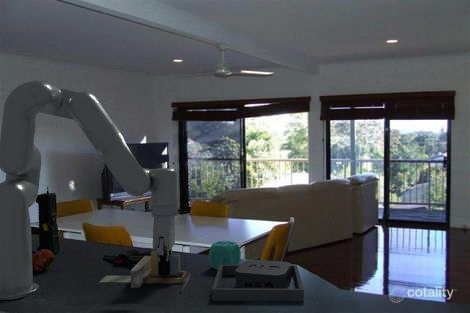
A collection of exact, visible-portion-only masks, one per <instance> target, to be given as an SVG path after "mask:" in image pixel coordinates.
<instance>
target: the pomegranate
mask: <svg viewBox="0 0 470 313" xmlns="http://www.w3.org/2000/svg"><path fill="white" fill-rule="evenodd" d="M55 255H56V254H55ZM55 255H54V254H53V253H52V252H51V251H50V250H47V249H41V250H39V251H38V252H37V251H34V250H32V271H35V272H37V273H41V272H42V271H44V270H46V269H49V270H51V271H52V272H53V271H54V270H53V269H52V267H50V266H51V264H52V263H53V262H54V261H55V257H56V256H55Z"/></svg>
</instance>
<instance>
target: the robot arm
mask: <svg viewBox="0 0 470 313" xmlns="http://www.w3.org/2000/svg"><path fill="white" fill-rule="evenodd" d="M39 113H40V114H46V115H50V116H54V117H55V116H56V117H60V118H64V119H68V120H73V121H74V122H75V123H76V125H77V126H78V128H80V130H81V131H82V132H83V134H84V135H85V136H86V138H87V139H88V140H89V142H90V144H91V145H92V147H93V148H94V149H95V150H96V152H97V154H98V156H99V157H100V159H102V161H103V162H104V164H105V165H106V167H107V168H108V170H109V171H110V173H111V174H112V176H113V177H114V178H115V180H116V181H117V182H118V184H119V185H120V186H121V188H122V189H123V190H124V192H125V193H126V194H127V195H130V196H132V197H141V196H143V195H145V194H146V193H147V192H150V193H151V194H150V199H151V200H150V201H151V204H150V205H151V217H153V225H152V226H153V227H152V251H156V250H159V252H158V269H159V275H169V274H170V261H169V253H173V247H174V246H175V243H176V226H175V224H176V223H175V217H177V216H178V215H179V214H178V212H179V211H178V174H177V171H176V169H175V168H170V167H169V168H168V167H159V168H144V167H142V166H141V165H140V164H139V162H138V160H137V159H136V157H135V156H134V155H133V153H132V152H131V150H130V148H129V146H128V144H127V143H126V140H125V137H124V135H123V133H122V132H121V130H120V128H118V126H117V124H115V123H114V121H113V119H111V117H110V115H109V114H108V112H107V111H106V110H105V108H104V107H103V105H102V103H101V100H100V99H99V98H98V97H97V96H96V95H95V94H94V93H91V92H88V91H79V92H78V91H75V90H70V89H66V88H61V87H57V86H55V85H52V84H50V83H48V82H46V81H43V80H32V81H31V80H30V81H27V82H24V83H21V84H20V85H18V86H17V87H15V88H14V89H13V90H11V92H10V93H9V94H8V96H7V98H6V100H5V102H4V105H3V111H2V118H1V119H2V120H1V122H2V123H1V127H0V128H1V129H0V171H2V172H3V173H5V180H4V181H2V182H0V301H7V300H8V301H9V300H17V299H21V298H26V297H28V296H30V295H31V294H33V293H34V292H35V291H37V290H39V288H40V285H39V283H38V284H37V283H36V282H34V280H33V279H34V278H33V269H32V257H33V253H32V251H33V250H32V249H33V247H32V245H33V244H32V225H31V217H30V210H29V209H30V207H31V206H33V205H34V203H36V199H37V196H38V195H39V189H40V180H41V179H40V178H41V171H42V155H41V151H40V149H39V148H38V146H37V145H35V143H34V142H35V134H36V118H37V114H39ZM164 253H166V254H164Z"/></svg>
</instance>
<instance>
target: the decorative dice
mask: <svg viewBox="0 0 470 313" xmlns="http://www.w3.org/2000/svg"><path fill="white" fill-rule="evenodd" d="M241 252H242V251H241V248H240V246H239V244H238V243H237V242H236V241H233V240H219V241H215V242H213V243H212V244H211V246H210V248H209V251H208V262H209V264H210V266H211V267H212V268H213V269H214V270H216V271H218V269H219V266H220V265H240V263H241V262H240V261H241V257H242V256H241Z"/></svg>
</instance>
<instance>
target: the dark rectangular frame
mask: <svg viewBox="0 0 470 313" xmlns="http://www.w3.org/2000/svg"><path fill="white" fill-rule="evenodd" d="M240 265H241V264H239V265H220V266H219V269H218V270H217V271H216V272H217V273H216V275H215V278H214V282H213V285H212V288H211V301H213V302H218V301H219V302H220V301H221V302H236V301H237V302H305V289H304V285H303V282H302V279H301V274H300V272H299V271H300V270H299V267H298V264H291V276H293V278H294V281H295V286H296V288H286V289H263V288H236V287H233V288H232V287H231V288H228V287H227V288H226V287H223V288H222V287H221V283H222V280H223V276H235V270H236V269H237V268H238V267H239V266H240Z"/></svg>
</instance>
